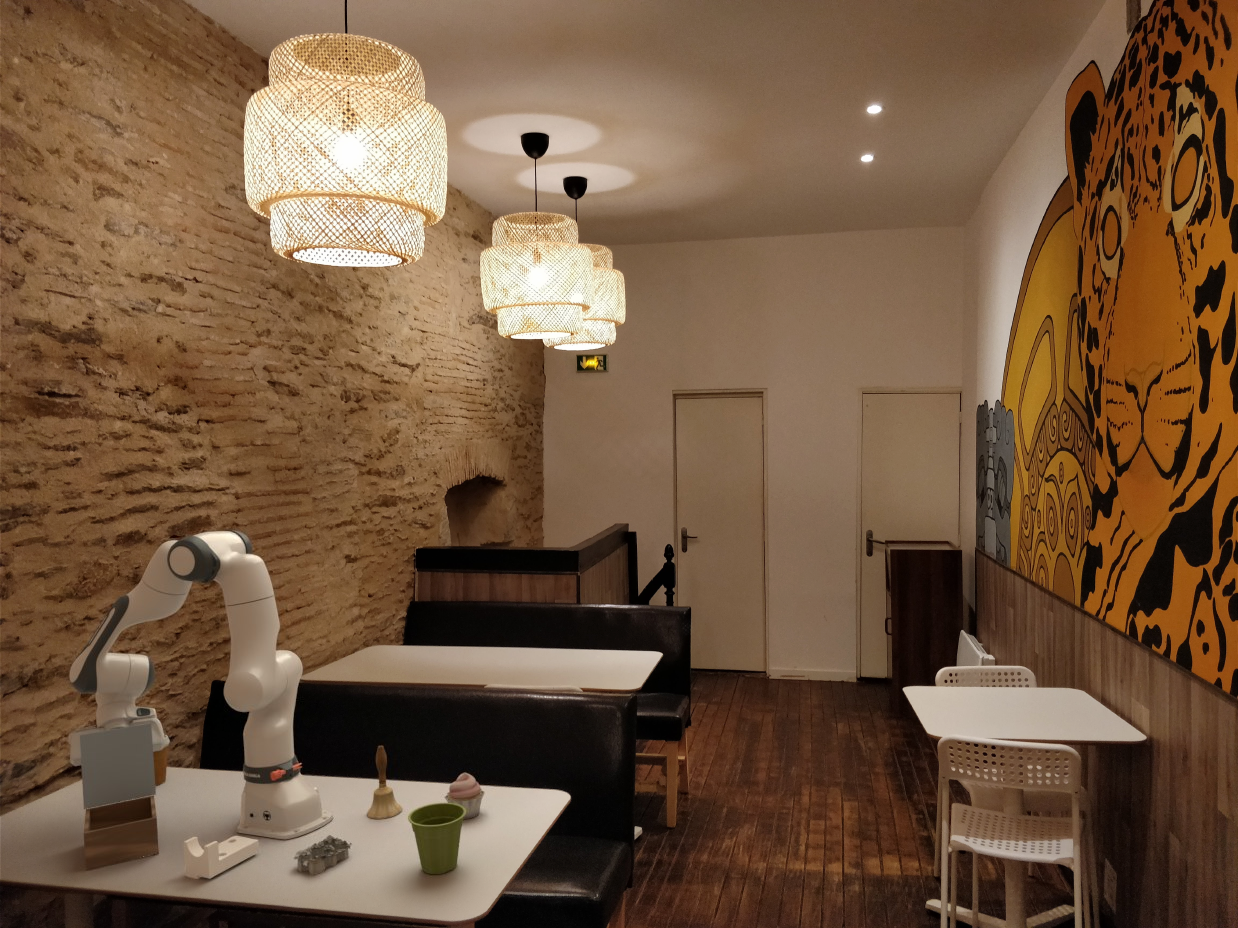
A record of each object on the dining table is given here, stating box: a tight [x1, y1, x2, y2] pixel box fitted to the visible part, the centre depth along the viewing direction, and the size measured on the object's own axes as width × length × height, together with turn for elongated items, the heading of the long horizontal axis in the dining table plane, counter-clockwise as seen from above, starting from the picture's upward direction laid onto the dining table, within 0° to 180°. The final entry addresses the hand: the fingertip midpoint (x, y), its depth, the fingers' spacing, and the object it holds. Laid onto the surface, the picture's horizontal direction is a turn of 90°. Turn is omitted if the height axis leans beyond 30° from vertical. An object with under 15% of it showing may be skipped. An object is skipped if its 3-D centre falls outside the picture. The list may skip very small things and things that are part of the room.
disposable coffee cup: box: [153, 734, 171, 787], centre depth 249 cm, size 10×10×12 cm
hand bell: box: [366, 745, 403, 820], centre depth 221 cm, size 8×8×16 cm
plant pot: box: [407, 802, 466, 875], centre depth 190 cm, size 12×12×11 cm
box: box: [83, 795, 160, 871], centre depth 207 cm, size 16×14×8 cm
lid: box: [80, 723, 157, 810], centre depth 216 cm, size 17×15×1 cm
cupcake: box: [444, 772, 486, 820], centre depth 217 cm, size 9×9×10 cm
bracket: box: [183, 835, 260, 880], centre depth 196 cm, size 13×7×8 cm, turn 154°
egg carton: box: [293, 834, 353, 875], centre depth 195 cm, size 11×8×4 cm
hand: (119, 772), depth 219 cm, fingers closed
